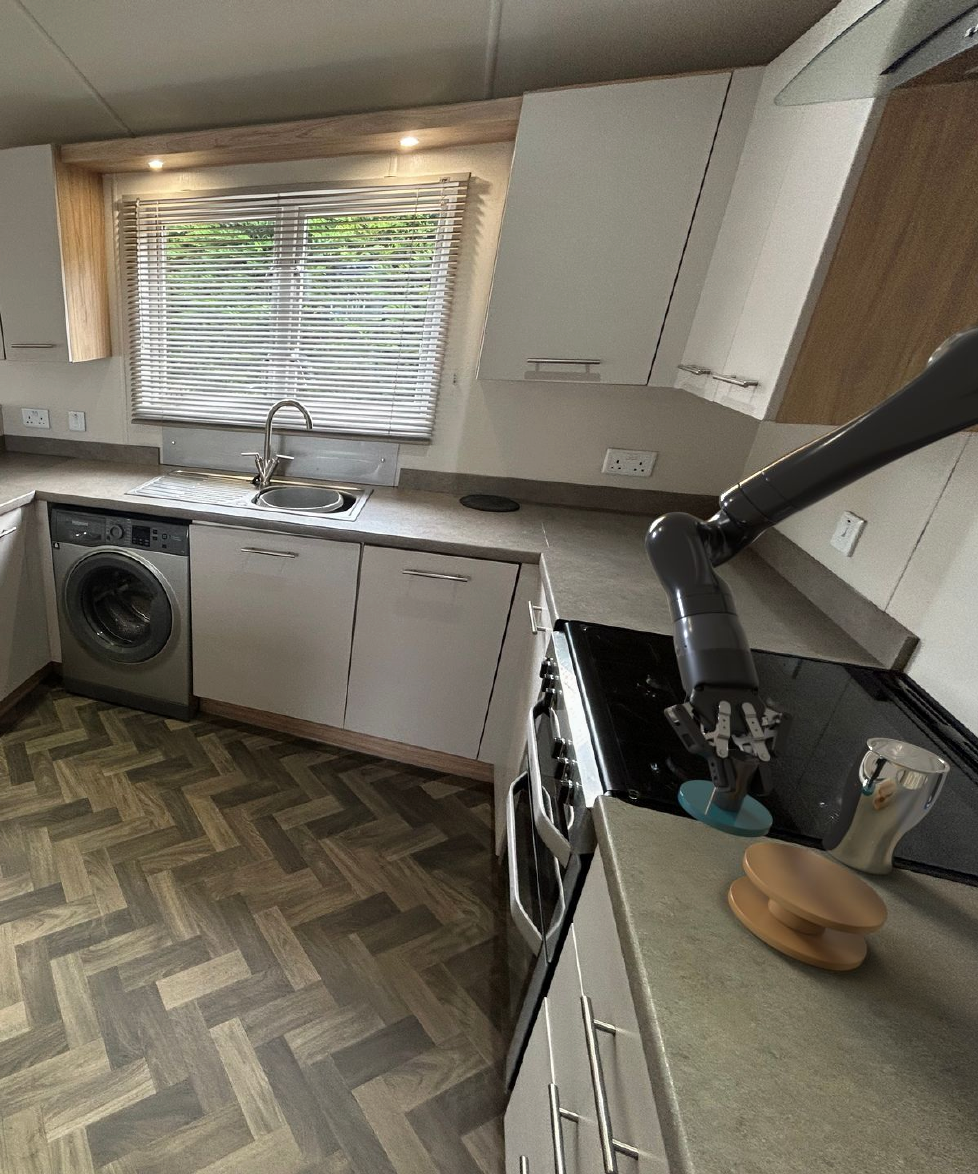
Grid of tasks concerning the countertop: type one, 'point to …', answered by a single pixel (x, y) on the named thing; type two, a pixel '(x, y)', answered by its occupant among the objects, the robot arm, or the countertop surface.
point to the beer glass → (884, 803)
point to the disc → (728, 801)
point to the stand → (806, 906)
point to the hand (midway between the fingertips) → (744, 792)
